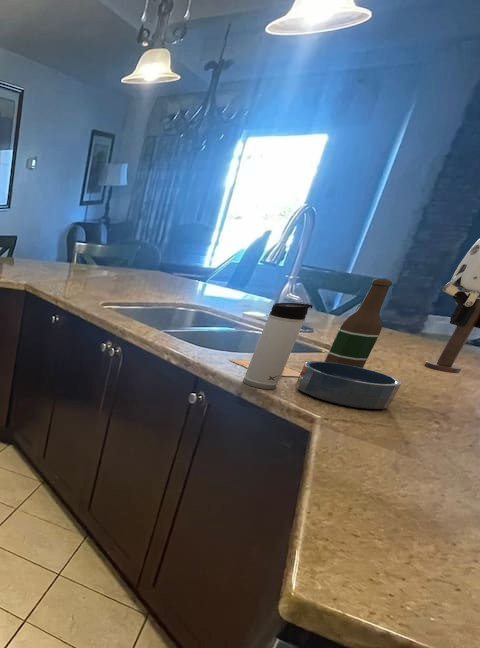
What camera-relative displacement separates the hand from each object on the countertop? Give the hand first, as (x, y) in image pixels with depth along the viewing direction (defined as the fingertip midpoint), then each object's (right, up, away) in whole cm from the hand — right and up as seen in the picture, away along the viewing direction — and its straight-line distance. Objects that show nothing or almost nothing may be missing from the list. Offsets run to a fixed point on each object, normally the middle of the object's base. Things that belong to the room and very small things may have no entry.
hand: (466, 325), depth 99 cm
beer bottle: (+4, -8, +29) cm, 31 cm away
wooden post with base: (0, -9, +4) cm, 10 cm away
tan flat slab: (-15, -7, +30) cm, 34 cm away
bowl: (-14, -15, +12) cm, 23 cm away
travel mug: (-27, -12, +17) cm, 34 cm away
